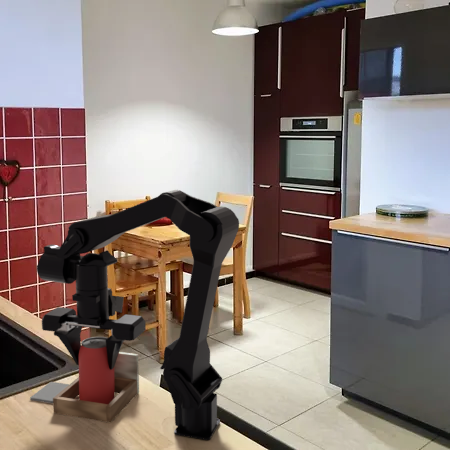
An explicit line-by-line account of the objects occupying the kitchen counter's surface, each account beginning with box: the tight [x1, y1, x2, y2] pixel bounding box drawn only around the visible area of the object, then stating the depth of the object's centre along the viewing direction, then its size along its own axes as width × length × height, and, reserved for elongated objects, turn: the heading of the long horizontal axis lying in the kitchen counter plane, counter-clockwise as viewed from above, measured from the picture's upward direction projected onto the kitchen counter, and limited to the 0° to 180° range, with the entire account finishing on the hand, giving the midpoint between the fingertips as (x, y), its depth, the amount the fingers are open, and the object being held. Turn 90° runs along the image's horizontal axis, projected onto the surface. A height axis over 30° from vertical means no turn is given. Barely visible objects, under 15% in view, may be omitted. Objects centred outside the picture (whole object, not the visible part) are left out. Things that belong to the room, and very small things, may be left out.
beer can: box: [78, 336, 116, 404], centre depth 109 cm, size 7×7×12 cm
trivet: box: [29, 381, 70, 404], centre depth 114 cm, size 6×7×1 cm
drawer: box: [52, 351, 140, 424], centre depth 110 cm, size 12×12×8 cm
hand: (95, 366), depth 109 cm, fingers closed on beer can, 6 cm apart
